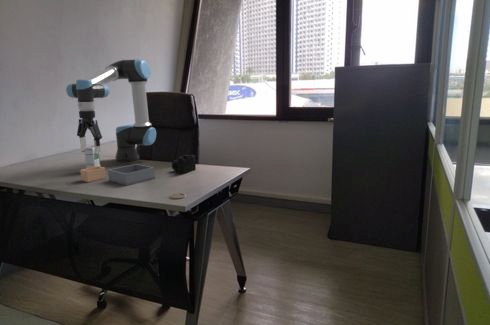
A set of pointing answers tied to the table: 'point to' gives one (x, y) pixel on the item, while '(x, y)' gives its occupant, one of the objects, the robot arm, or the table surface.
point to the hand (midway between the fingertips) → (90, 150)
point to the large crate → (131, 174)
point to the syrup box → (91, 157)
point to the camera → (184, 164)
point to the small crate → (93, 174)
